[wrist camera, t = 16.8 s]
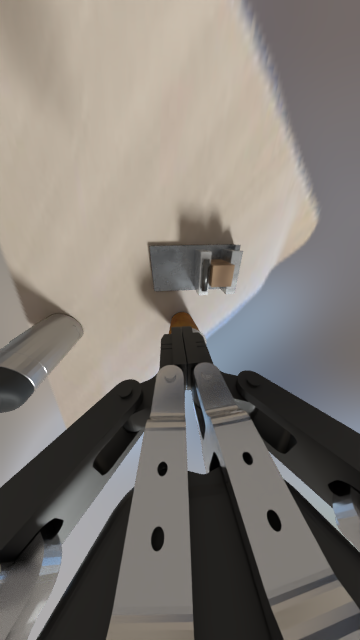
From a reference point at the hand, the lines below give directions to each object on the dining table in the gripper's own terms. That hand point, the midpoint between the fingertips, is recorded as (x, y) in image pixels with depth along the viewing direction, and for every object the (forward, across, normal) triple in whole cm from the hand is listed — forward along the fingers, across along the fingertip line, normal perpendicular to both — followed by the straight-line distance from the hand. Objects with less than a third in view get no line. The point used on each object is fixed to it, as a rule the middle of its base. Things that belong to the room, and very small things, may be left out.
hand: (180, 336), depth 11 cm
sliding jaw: (+26, -7, 0) cm, 27 cm away
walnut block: (+26, -10, 0) cm, 27 cm away
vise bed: (+26, -5, 0) cm, 27 cm away
